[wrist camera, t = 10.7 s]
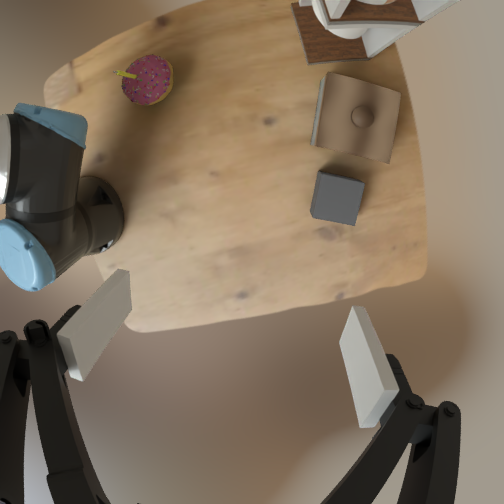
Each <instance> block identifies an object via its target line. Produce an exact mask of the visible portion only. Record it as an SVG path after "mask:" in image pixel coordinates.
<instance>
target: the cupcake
mask: <svg viewBox="0 0 504 504" xmlns="http://www.w3.org/2000/svg"><path fill="white" fill-rule="evenodd" d="M113 72H114V73H116V74H117V75H121V76H123V79H122V80H123V81H122V84H123V85H122V87H123V88H122V89H123V93H124V94H125V95H126V96H127V97H128V98H129V99H130V100H131V101H132V102H134V103H136V104H138V105H153V104H155V103H157V102H160V101H162V100H163V99H164V98H165V97H166V96H167V95H168V93H169V92H170V91H171V89H172V87H173V81H174V76H173V67H172V65H171V64H170V63H169V62H168V61H167V60H166V59H164V58H161V57H160V56H159V57H158V56H156V55H148V56H145V57H142V58H139V59H137V60H136V61H134V62H133V63H132V64H131V65H130V66H129V68H128V69H127V70H126V71H125V72H123V71H119V70H118V71H117V72H116V71H113Z"/></svg>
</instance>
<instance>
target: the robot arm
mask: <svg viewBox="0 0 504 504" xmlns="http://www.w3.org/2000/svg"><path fill="white" fill-rule="evenodd" d="M87 129H88V124H87V121H86V119H85V118H84V117H83V116H82V115H79V114H75V113H70V112H66V111H61V110H56V109H51V108H46V107H41V106H36V105H29V104H24V103H18V104H17V105H16V107H15V109H14V114H2V115H1V116H0V204H5V203H6V218H5V219H2V220H0V266H1V268H2V269H3V271H4V272H5V274H6V275H7V276H8V277H9V279H10V280H11V281H12V282H14V283H15V284H16V285H17V286H19V287H20V288H22V289H24V290H27V291H38V290H40V289H42V288H43V287H45V286H46V285H48V284H50V283H52V282H54V280H55V279H56V278H58V277H59V276H60V275H61V274H62V273H63V272H65V271H66V270H67V269H68V268H69V267H71V266H72V265H73V264H74V263H75V262H77V261H78V260H79V259H80V258H81V257H83V256H87V255H94V254H99V253H102V252H104V251H106V250H107V249H109V248H110V247H111V246H113V245H114V244H115V243H116V242H117V240H118V239H119V237H120V235H121V233H122V229H123V224H124V214H123V208H122V204H121V202H120V199H119V197H118V195H117V194H116V192H115V191H114V189H113V188H112V187H111V186H110V185H109V184H108V183H106V182H105V181H104V180H102V179H100V178H97V177H90V176H89V177H83V178H80V172H81V165H82V159H83V153H84V149H86V145H85V141H86V135H87ZM131 310H132V303H131V290H130V274H129V271H127V270H122V269H117V270H116V271H115V272H114V273H113V274H112V275H111V276H110V277H109V278H108V279H107V280H106V281H105V282H104V284H103V285H102V286H101V287H100V288H99V289H98V290H97V291H96V292H95V293H94V294H93V295H92V296H91V297H90V298H89V299H88V300H87V301H86V302H85V303H84V304H83V306H80V305H75V306H74V307H72V308H70V309H69V310H68V311H67V312H66V313H65V314H64V316H62V317H61V318H60V320H58V321H57V322H56V323H55V324H54V326H53V327H52V328H51V329H50V330H49V327H48V325H47V323H46V322H45V321H43V320H33V321H30V322H29V323H27V324H26V325H25V327H24V330H23V331H24V334H25V337H26V339H27V340H18V337H17V335H16V333H15V332H13V331H10V330H8V331H4V332H1V333H0V504H24V442H25V429H26V419H27V409H28V402H29V395H30V387H31V386H32V394H33V401H34V407H35V414H36V419H37V425H38V430H39V435H40V439H41V444H42V448H43V452H44V456H45V460H46V464H47V467H48V472H49V474H48V475H47V483H48V486H49V489H50V492H51V495H52V498H53V501H54V504H111V503H110V502H109V500H108V498H107V497H106V495H105V493H104V491H103V489H102V487H101V484H100V482H99V480H98V478H97V475H96V473H95V470H94V468H93V465H92V463H91V460H90V458H89V455H88V452H87V450H86V447H85V444H84V441H83V439H82V435H81V432H80V429H79V426H78V423H77V419H76V416H75V413H74V409H73V406H72V402H71V398H70V394H69V390H68V386H67V382H66V378H65V375H64V373H65V372H66V370H67V369H68V371H69V373H70V376H71V377H72V378H75V379H77V380H80V381H84V380H85V378H86V377H87V375H88V373H89V372H90V370H91V369H92V367H93V366H94V364H95V363H96V361H97V360H98V358H99V357H100V355H101V354H102V352H103V350H104V349H105V348H106V346H107V345H108V343H109V342H110V340H111V339H112V337H113V336H114V335H115V333H116V332H117V330H118V329H119V327H120V326H121V324H122V323H123V322H124V320H125V319H126V317H127V316H128V314H129V313H130V312H131ZM339 343H340V347H341V351H342V355H343V359H344V362H345V366H346V370H347V374H348V378H349V383H350V386H351V391H352V395H353V399H354V404H355V408H356V412H357V417H358V421H359V426H360V428H366V427H367V428H368V427H375V425H376V424H377V423H378V421H379V420H380V424H381V428H380V429H379V430H378V431H377V433H376V434H375V435H374V437H373V438H372V440H371V442H370V443H369V445H368V446H367V447H366V449H365V450H364V452H363V453H362V454H361V456H360V457H359V458H358V460H357V461H356V462H355V464H354V465H353V466H352V467H351V469H350V470H349V471H348V473H347V474H346V475H345V476H344V477H343V479H342V480H341V481H340V482H339V483H338V485H337V486H336V487H335V488H334V489H333V490H332V491H331V493H330V494H329V495H328V496H327V497H326V498H325V499H324V500H323V501H322V503H321V504H371V503H372V502H373V500H374V499H375V498H376V496H377V495H378V493H379V492H380V490H381V489H382V487H383V486H384V484H385V482H386V481H387V479H388V478H389V476H390V475H391V473H392V471H393V469H394V468H395V466H396V465H397V463H398V461H399V459H400V458H401V456H402V454H403V452H404V450H405V449H406V446H407V445H408V443H412V446H411V451H410V456H409V460H408V465H407V469H406V473H405V477H404V481H403V485H402V488H401V492H400V495H399V499H398V502H397V504H454V500H455V493H456V486H457V478H458V468H459V456H460V436H461V435H460V434H461V413H460V409H459V408H458V406H457V405H456V404H454V403H452V402H450V401H444V402H442V403H441V404H440V405H439V406H438V407H433V406H429V405H425V403H424V401H423V399H422V398H421V397H419V396H418V395H416V394H413V393H412V391H411V388H410V386H409V384H408V382H407V379H406V377H405V375H404V372H403V370H402V369H401V368H402V367H401V365H400V363H399V361H398V360H397V359H396V358H395V356H394V355H393V354H385V353H384V350H383V348H382V346H381V343H380V341H379V339H378V336H377V334H376V332H375V329H374V327H373V325H372V323H371V320H370V318H369V316H368V314H367V312H366V309H365V307H361V306H352V308H351V311H350V314H349V317H348V320H347V323H346V325H345V328H344V331H343V333H342V336H341V339H340V342H339ZM137 504H139V503H137Z"/></svg>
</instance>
